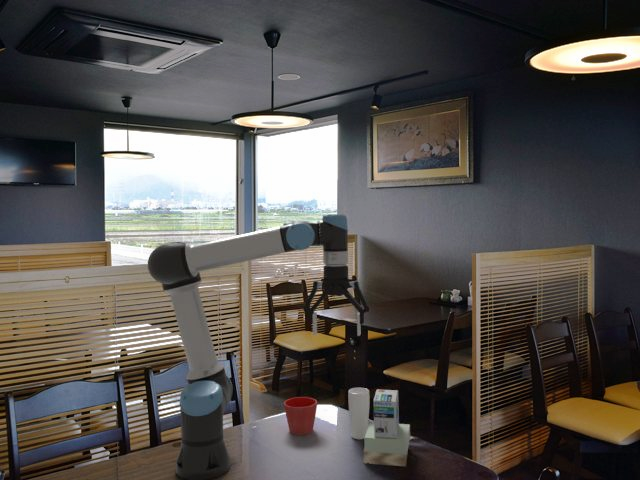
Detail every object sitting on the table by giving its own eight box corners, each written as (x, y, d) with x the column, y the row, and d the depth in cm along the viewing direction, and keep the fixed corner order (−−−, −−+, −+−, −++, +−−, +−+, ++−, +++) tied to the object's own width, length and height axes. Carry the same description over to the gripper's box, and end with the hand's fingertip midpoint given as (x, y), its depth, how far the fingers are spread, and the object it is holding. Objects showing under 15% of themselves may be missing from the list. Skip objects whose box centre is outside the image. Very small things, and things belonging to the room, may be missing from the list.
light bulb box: (397, 439, 155) (396, 401, 155) (373, 437, 156) (372, 400, 156) (399, 424, 166) (398, 389, 165) (377, 423, 167) (376, 388, 166)
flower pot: (287, 424, 188) (287, 396, 187) (319, 425, 186) (319, 396, 186) (281, 436, 177) (280, 406, 177) (315, 437, 176) (314, 407, 175)
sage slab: (364, 451, 157) (364, 437, 157) (370, 434, 169) (370, 421, 168) (407, 454, 154) (406, 440, 154) (410, 437, 166) (409, 424, 166)
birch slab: (363, 464, 157) (363, 451, 157) (368, 447, 169) (368, 434, 169) (406, 467, 155) (405, 453, 155) (407, 449, 167) (407, 436, 166)
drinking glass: (373, 435, 177) (373, 389, 176) (363, 442, 171) (363, 395, 170) (355, 431, 180) (354, 386, 180) (345, 438, 175) (344, 392, 174)
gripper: (292, 266, 165) (294, 336, 166) (376, 266, 161) (376, 337, 162) (298, 263, 172) (299, 330, 173) (377, 263, 168) (378, 332, 169)
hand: (336, 334), depth 168 cm, fingers open, 13 cm apart
